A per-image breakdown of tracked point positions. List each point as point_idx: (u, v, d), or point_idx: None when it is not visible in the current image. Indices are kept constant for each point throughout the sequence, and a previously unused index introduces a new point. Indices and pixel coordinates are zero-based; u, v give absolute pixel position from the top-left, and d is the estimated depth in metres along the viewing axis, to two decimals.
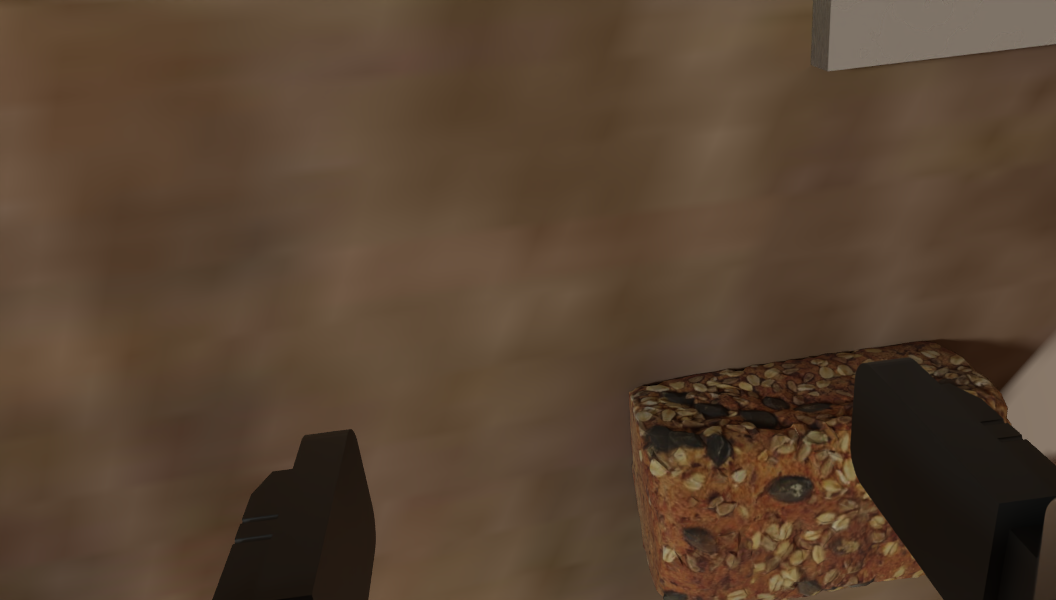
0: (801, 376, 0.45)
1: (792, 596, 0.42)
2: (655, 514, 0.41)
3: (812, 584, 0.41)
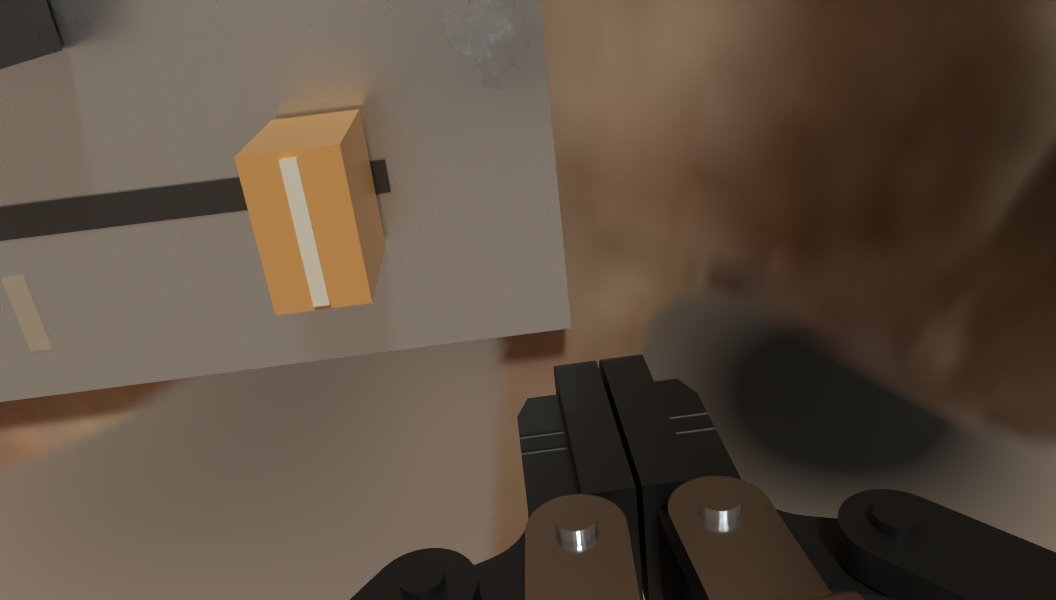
0: None
1: None
2: None
3: None
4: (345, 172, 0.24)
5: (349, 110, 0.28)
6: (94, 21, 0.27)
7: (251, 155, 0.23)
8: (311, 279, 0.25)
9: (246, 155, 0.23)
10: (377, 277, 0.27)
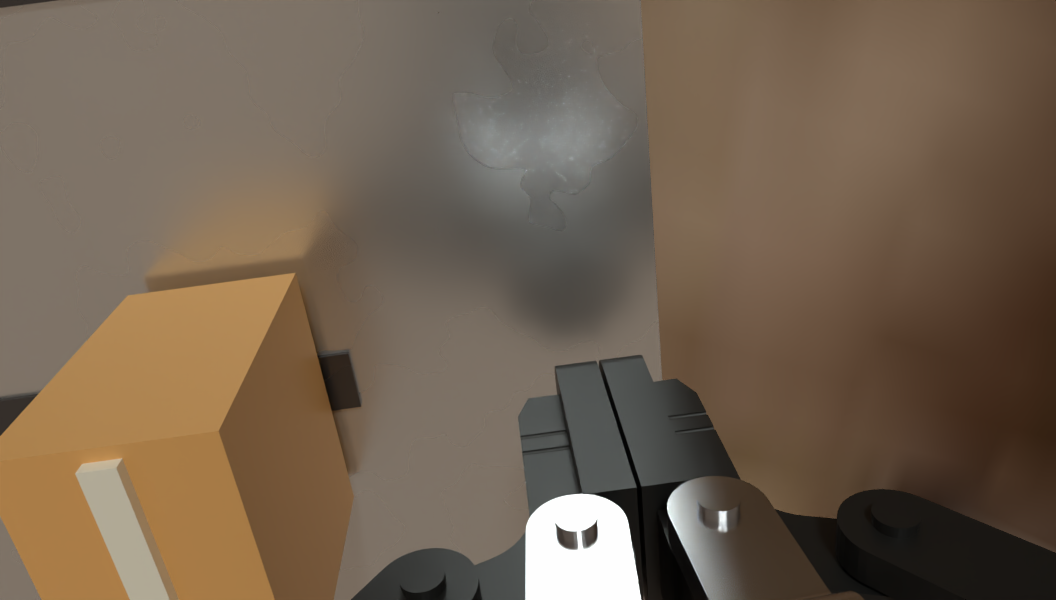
0: None
1: None
2: None
3: None
4: (237, 483, 0.10)
5: (276, 275, 0.15)
6: None
7: (16, 457, 0.10)
8: None
9: (4, 457, 0.10)
10: None
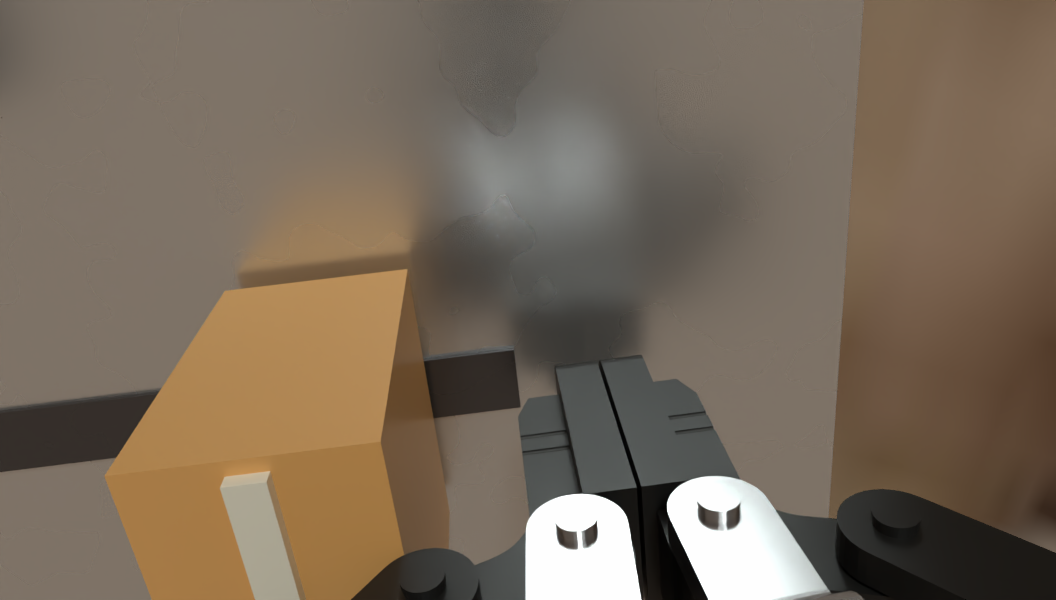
0: None
1: None
2: None
3: None
4: (393, 500, 0.09)
5: (386, 271, 0.14)
6: None
7: (150, 469, 0.09)
8: None
9: (137, 468, 0.09)
10: None
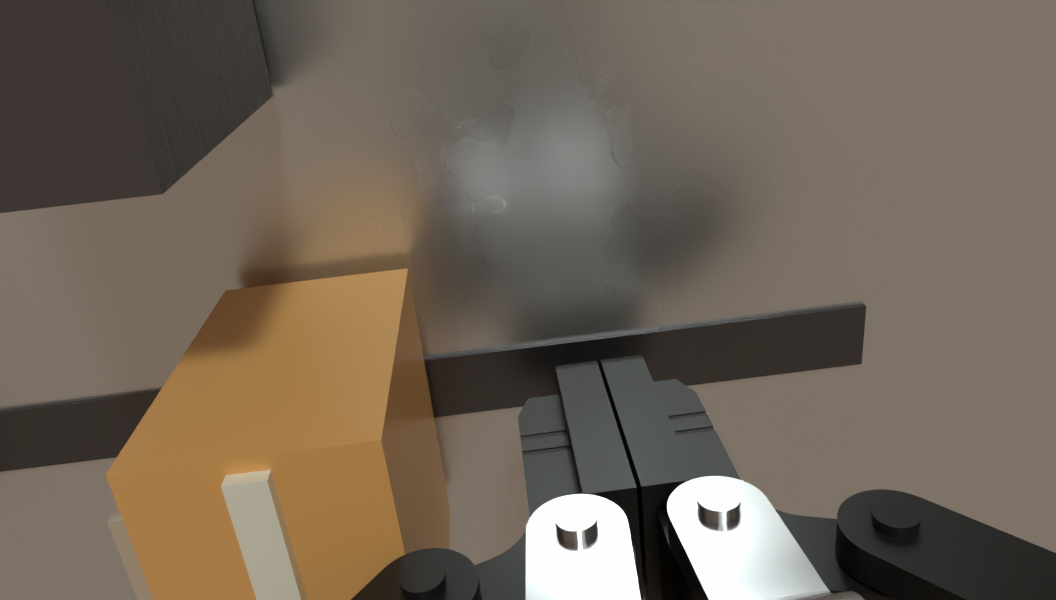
0: None
1: None
2: None
3: None
4: (393, 498, 0.09)
5: None
6: (340, 32, 0.12)
7: (151, 467, 0.09)
8: None
9: (138, 467, 0.09)
10: None
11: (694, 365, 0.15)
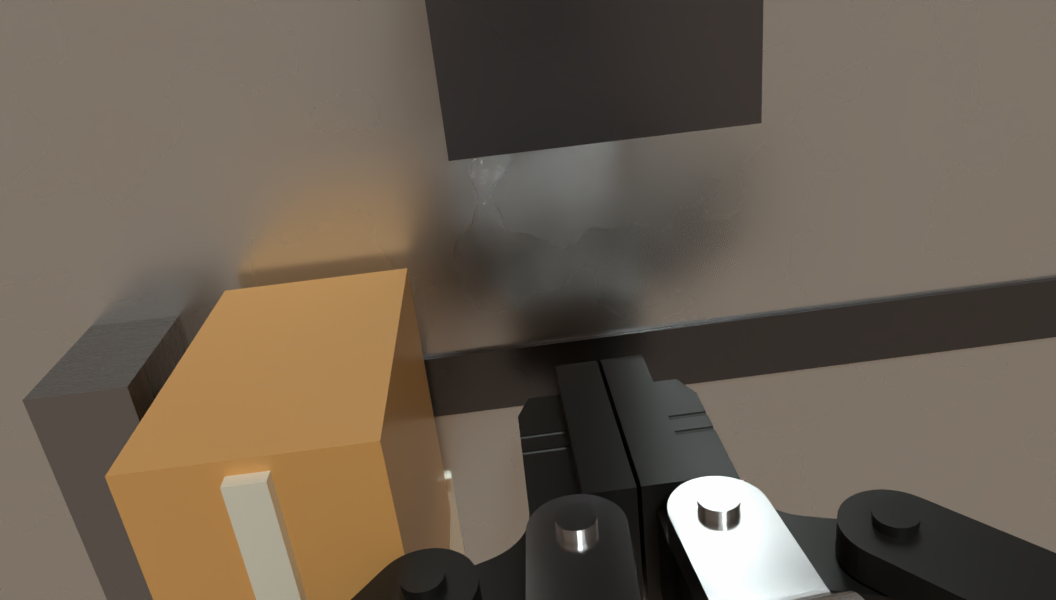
0: None
1: None
2: None
3: None
4: (392, 498, 0.09)
5: None
6: None
7: (150, 469, 0.09)
8: None
9: (138, 468, 0.09)
10: None
11: (997, 325, 0.15)
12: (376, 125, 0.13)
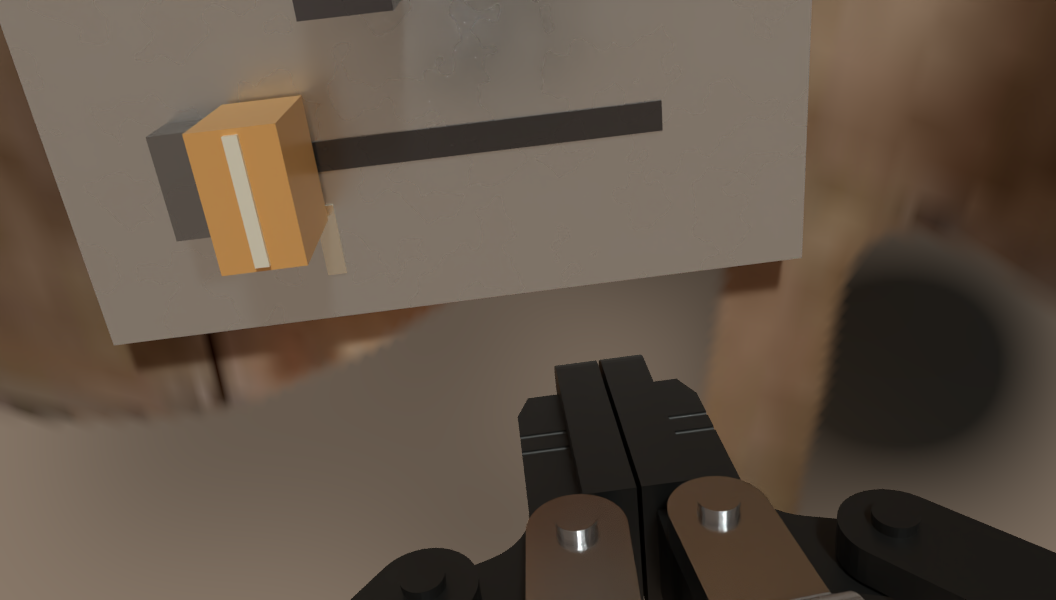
0: None
1: None
2: None
3: None
4: (280, 148, 0.27)
5: (292, 96, 0.31)
6: None
7: (197, 132, 0.27)
8: (252, 243, 0.28)
9: (193, 132, 0.27)
10: (315, 244, 0.30)
11: (585, 130, 0.33)
12: (291, 31, 0.31)
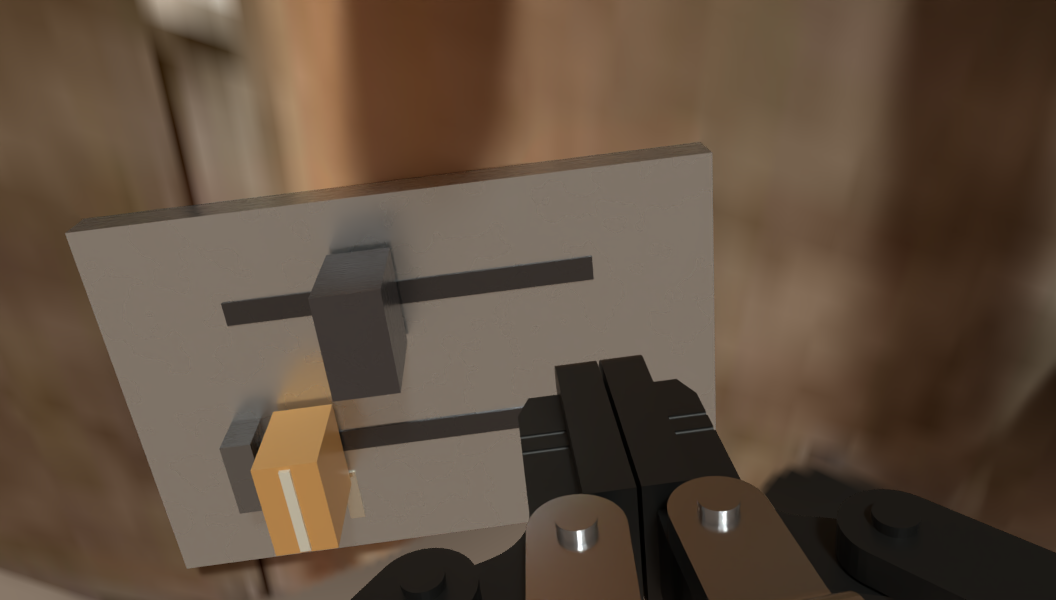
0: None
1: None
2: None
3: None
4: (320, 476, 0.38)
5: None
6: (427, 321, 0.41)
7: (261, 469, 0.37)
8: (299, 537, 0.39)
9: (258, 468, 0.37)
10: (343, 520, 0.41)
11: None
12: None
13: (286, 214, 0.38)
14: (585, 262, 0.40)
